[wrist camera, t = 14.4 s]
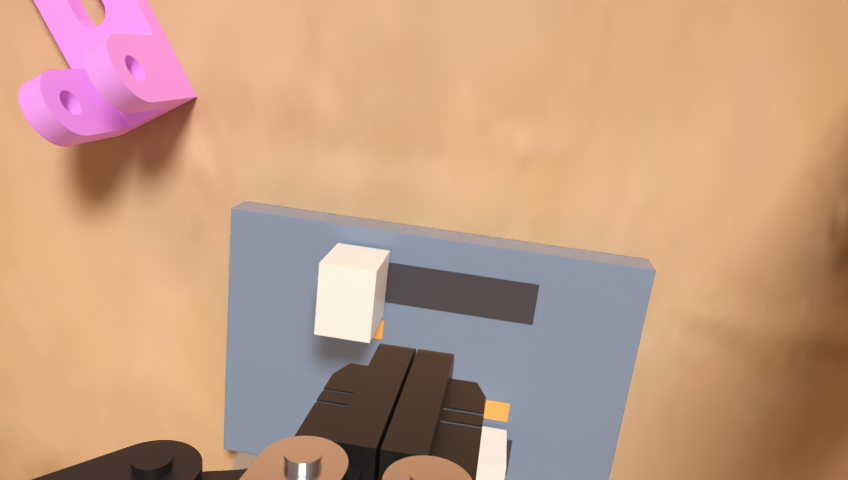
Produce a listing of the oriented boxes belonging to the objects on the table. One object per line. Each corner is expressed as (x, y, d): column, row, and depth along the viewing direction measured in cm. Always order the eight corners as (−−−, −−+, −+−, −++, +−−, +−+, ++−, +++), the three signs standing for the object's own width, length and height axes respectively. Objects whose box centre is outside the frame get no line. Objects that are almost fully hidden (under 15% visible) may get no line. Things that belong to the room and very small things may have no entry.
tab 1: (390, 250, 37) (376, 271, 33) (383, 315, 38) (369, 343, 34) (338, 243, 37) (319, 262, 34) (332, 308, 38) (314, 334, 35)
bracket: (198, 96, 39) (133, 104, 32) (122, 135, 40) (44, 150, 33) (84, -124, 36) (-12, -165, 29) (7, -76, 37) (-102, -105, 31)
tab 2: (506, 430, 39) (506, 468, 35) (497, 487, 40) (495, 530, 37) (456, 421, 39) (451, 458, 36) (448, 478, 40) (442, 519, 37)
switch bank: (648, 259, 38) (655, 270, 36) (596, 496, 42) (600, 517, 40) (244, 201, 40) (230, 209, 38) (236, 432, 44) (223, 449, 42)
